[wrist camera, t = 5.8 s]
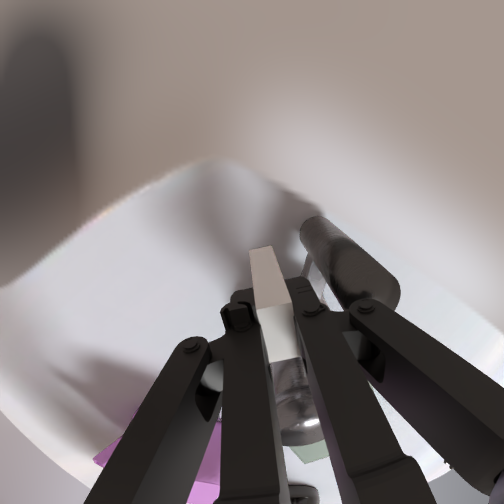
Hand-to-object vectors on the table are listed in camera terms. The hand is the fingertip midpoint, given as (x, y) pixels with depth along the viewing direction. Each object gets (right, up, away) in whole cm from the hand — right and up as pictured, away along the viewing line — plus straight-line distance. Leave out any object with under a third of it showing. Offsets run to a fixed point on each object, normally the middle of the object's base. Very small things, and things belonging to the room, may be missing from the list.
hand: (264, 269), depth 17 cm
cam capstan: (+3, -2, +6) cm, 7 cm away
